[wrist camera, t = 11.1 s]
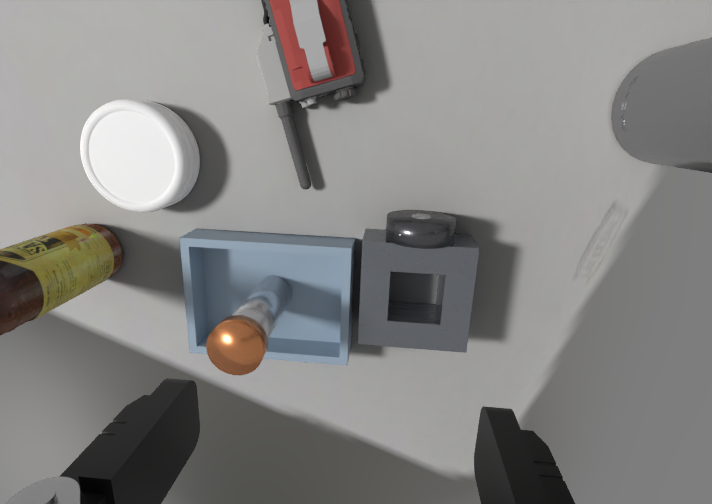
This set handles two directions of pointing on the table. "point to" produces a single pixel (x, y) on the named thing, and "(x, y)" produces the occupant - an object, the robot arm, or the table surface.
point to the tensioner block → (417, 255)
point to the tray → (266, 258)
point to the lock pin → (249, 328)
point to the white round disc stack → (139, 155)
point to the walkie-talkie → (307, 60)
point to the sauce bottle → (54, 271)
